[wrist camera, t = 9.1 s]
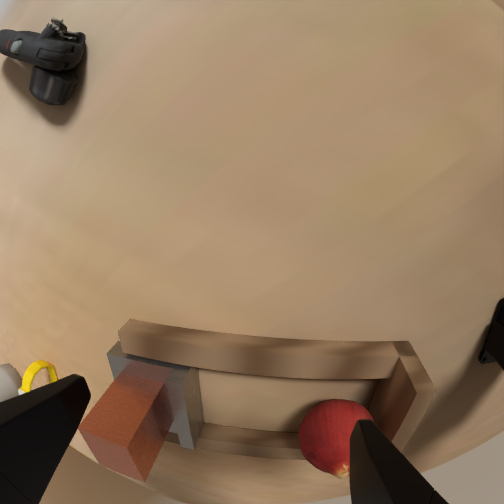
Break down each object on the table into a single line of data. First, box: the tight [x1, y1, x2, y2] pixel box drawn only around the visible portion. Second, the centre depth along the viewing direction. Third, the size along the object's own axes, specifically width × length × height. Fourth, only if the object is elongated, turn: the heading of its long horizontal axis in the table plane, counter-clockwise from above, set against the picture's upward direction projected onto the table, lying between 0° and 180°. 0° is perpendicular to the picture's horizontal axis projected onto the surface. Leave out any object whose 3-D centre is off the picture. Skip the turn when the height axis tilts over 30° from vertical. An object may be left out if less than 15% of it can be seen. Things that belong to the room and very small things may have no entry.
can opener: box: [0, 18, 85, 105], centre depth 13 cm, size 18×7×6 cm, turn 54°
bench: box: [118, 319, 437, 460], centre depth 19 cm, size 22×13×6 cm, turn 88°
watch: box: [18, 360, 58, 395], centre depth 23 cm, size 6×3×6 cm, turn 169°
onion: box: [298, 399, 374, 478], centre depth 17 cm, size 6×6×8 cm
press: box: [78, 341, 204, 482], centre depth 18 cm, size 7×8×9 cm
